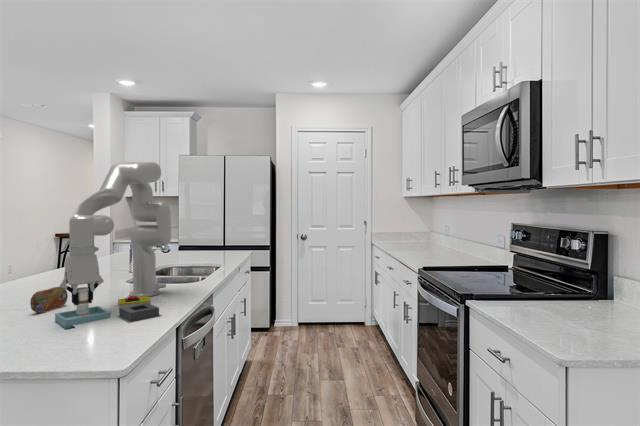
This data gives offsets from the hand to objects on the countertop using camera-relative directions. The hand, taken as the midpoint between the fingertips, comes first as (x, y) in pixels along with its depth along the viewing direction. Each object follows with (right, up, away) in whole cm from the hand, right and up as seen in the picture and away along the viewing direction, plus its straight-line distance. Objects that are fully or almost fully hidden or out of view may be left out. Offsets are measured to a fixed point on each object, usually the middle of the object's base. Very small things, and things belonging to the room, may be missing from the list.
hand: (82, 303), depth 144 cm
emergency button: (+9, -7, +21) cm, 24 cm away
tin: (-22, -6, +15) cm, 27 cm away
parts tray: (0, -6, 0) cm, 6 cm away
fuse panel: (+18, -6, +4) cm, 20 cm away
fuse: (0, -4, 0) cm, 4 cm away
